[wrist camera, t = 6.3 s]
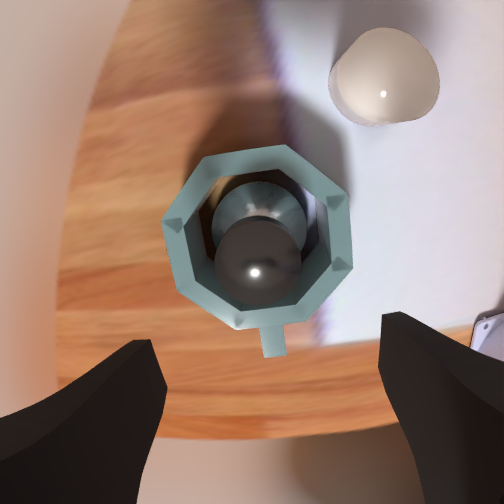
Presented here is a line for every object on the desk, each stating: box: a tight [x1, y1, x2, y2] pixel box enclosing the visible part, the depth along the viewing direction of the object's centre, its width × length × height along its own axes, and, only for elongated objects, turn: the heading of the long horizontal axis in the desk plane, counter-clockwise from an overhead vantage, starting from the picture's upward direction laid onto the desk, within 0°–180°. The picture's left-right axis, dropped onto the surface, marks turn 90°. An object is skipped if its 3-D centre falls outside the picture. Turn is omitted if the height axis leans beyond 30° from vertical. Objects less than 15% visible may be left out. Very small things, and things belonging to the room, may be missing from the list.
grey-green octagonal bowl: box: [161, 144, 353, 358], centre depth 16 cm, size 8×10×4 cm
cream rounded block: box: [328, 27, 440, 126], centre depth 13 cm, size 4×4×4 cm
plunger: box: [212, 181, 307, 305], centre depth 15 cm, size 5×5×6 cm
